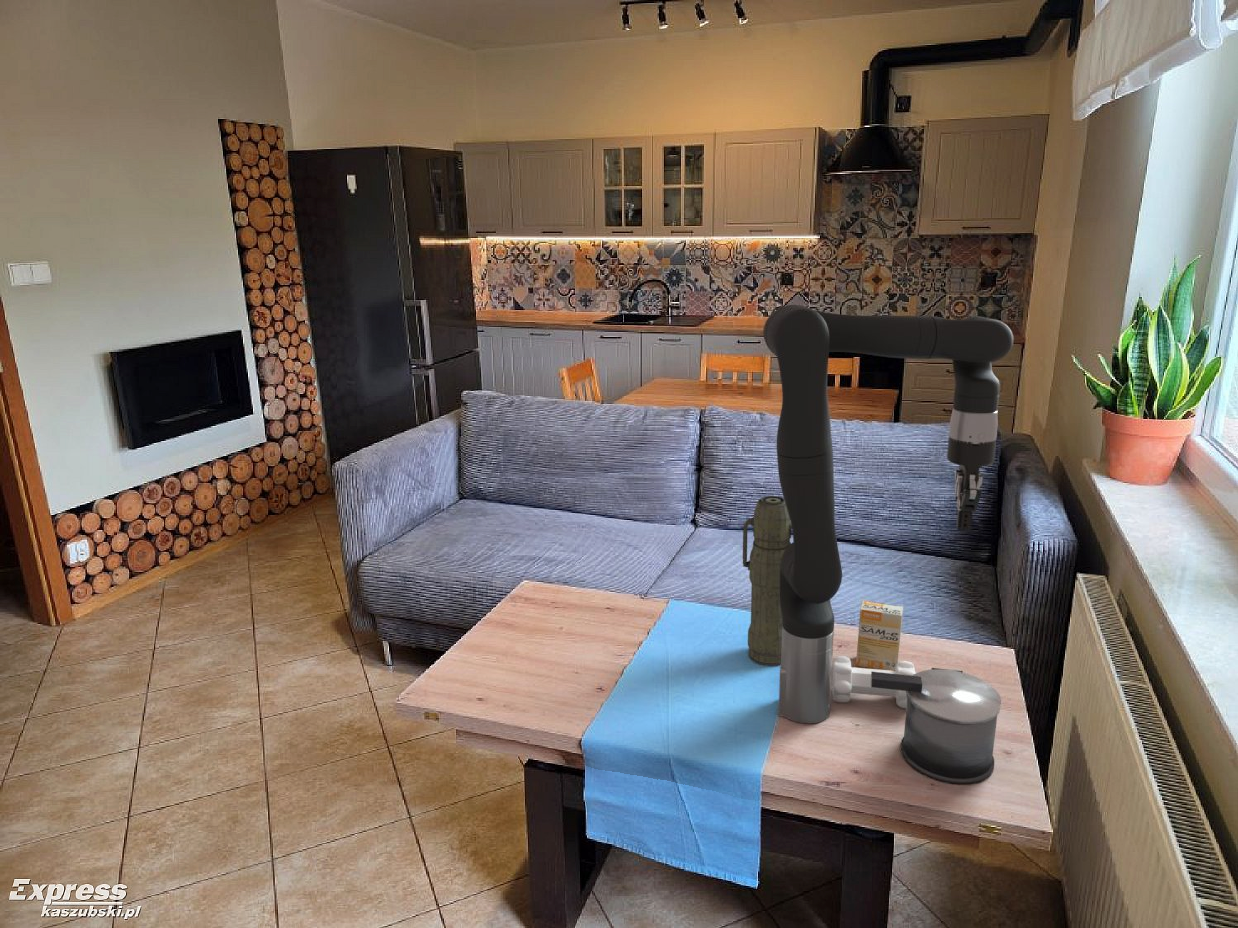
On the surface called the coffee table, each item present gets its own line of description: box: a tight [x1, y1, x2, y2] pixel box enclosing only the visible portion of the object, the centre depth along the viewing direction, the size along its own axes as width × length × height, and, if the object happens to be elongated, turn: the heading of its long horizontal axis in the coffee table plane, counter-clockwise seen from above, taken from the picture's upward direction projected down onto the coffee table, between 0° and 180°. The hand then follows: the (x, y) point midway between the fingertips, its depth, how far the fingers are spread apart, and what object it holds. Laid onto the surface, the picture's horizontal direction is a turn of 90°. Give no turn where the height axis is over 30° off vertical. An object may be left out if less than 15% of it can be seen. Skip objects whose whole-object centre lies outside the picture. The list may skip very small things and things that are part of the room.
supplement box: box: [855, 600, 904, 671], centre depth 166 cm, size 8×5×13 cm, turn 68°
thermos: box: [742, 495, 792, 668], centre depth 167 cm, size 9×12×35 cm
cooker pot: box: [900, 698, 998, 786], centre depth 137 cm, size 15×16×11 cm
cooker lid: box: [871, 667, 1002, 724], centre depth 136 cm, size 20×15×3 cm
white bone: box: [831, 655, 917, 710], centre depth 155 cm, size 15×9×8 cm, turn 78°
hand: (963, 529), depth 144 cm, fingers closed
